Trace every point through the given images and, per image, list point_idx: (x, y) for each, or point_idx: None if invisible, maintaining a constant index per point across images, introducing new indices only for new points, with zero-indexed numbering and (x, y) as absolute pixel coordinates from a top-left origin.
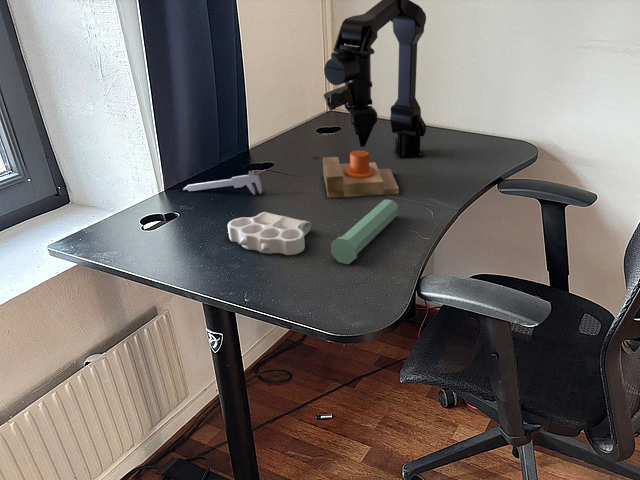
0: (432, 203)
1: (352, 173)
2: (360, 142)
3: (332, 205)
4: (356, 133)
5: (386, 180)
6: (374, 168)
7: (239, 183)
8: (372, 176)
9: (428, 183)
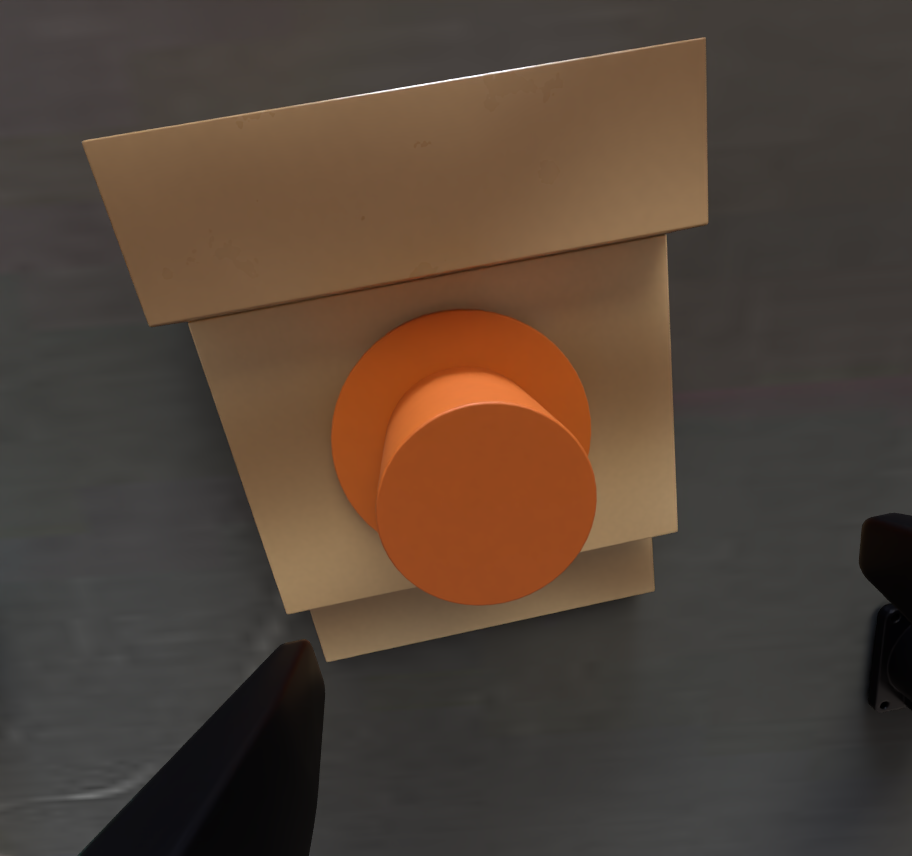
0: None
1: (386, 388)
2: (232, 710)
3: (57, 240)
4: (887, 534)
5: None
6: None
7: None
8: None
9: (492, 755)
